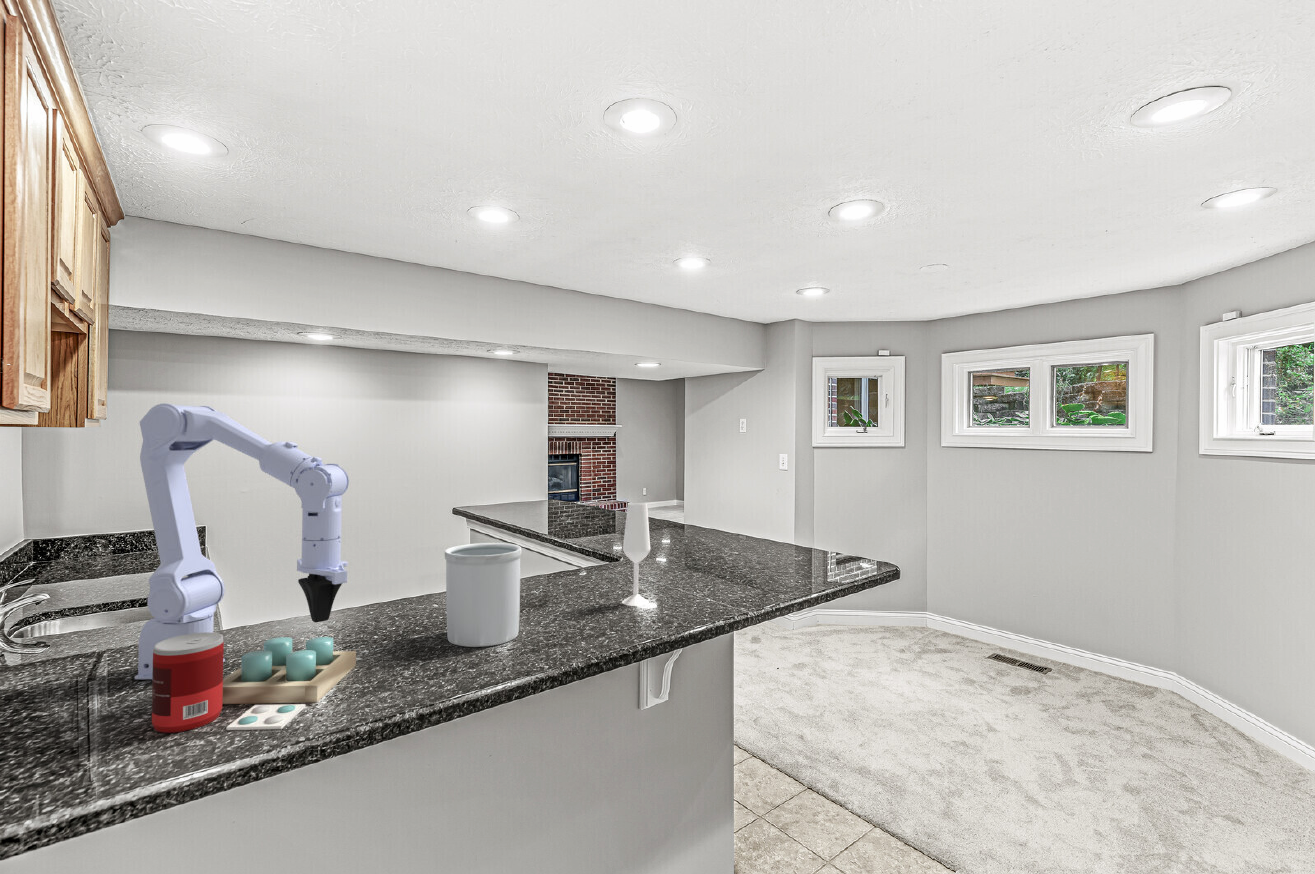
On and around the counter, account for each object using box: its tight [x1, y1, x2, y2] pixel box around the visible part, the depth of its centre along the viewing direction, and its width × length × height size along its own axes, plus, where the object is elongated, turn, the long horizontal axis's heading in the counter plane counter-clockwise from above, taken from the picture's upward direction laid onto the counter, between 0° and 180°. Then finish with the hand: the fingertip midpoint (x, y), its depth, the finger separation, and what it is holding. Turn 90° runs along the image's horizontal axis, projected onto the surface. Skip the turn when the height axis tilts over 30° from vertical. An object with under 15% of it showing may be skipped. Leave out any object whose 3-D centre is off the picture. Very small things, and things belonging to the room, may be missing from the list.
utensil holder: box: [444, 542, 523, 648], centre depth 126 cm, size 15×15×18 cm
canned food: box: [151, 632, 225, 734], centre depth 87 cm, size 8×8×11 cm
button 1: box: [240, 649, 272, 682], centre depth 97 cm, size 4×4×4 cm
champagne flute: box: [621, 502, 651, 607], centre depth 154 cm, size 7×7×24 cm
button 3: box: [286, 649, 316, 681], centre depth 98 cm, size 4×4×4 cm
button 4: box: [305, 636, 334, 666], centre depth 104 cm, size 4×4×4 cm
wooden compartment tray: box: [222, 650, 357, 705], centre depth 101 cm, size 15×15×2 cm
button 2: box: [263, 636, 293, 666], centre depth 104 cm, size 4×4×4 cm
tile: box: [226, 703, 306, 731], centre depth 89 cm, size 7×7×1 cm
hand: (320, 620), depth 104 cm, fingers closed
